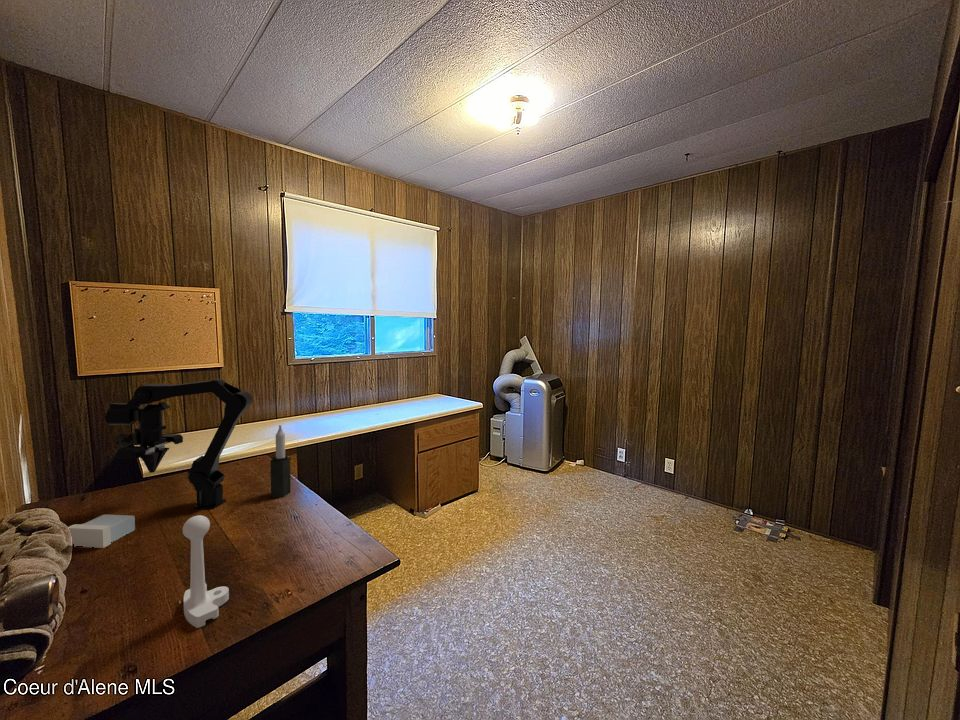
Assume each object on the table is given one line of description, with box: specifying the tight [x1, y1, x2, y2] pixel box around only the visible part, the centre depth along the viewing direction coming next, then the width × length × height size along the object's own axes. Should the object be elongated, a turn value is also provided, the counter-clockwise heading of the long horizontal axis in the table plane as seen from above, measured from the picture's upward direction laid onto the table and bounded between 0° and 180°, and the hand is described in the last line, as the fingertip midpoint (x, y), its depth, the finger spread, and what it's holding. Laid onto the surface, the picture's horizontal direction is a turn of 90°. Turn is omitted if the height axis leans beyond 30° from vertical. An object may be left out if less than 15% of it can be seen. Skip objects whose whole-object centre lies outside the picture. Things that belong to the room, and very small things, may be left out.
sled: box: [82, 514, 136, 543], centre depth 105 cm, size 9×7×4 cm
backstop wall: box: [68, 523, 112, 549], centre depth 100 cm, size 10×2×5 cm, turn 88°
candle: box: [270, 424, 291, 498], centre depth 134 cm, size 5×5×25 cm
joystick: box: [182, 515, 230, 629], centre depth 79 cm, size 11×8×20 cm
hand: (152, 472), depth 120 cm, fingers closed
